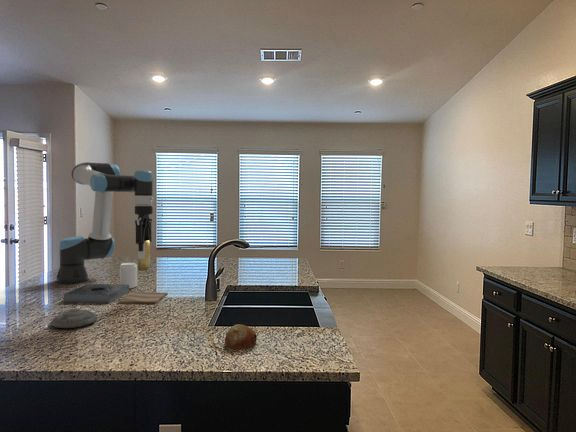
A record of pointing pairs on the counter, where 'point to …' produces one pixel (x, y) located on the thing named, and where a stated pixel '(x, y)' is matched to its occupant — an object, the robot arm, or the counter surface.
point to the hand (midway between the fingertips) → (144, 257)
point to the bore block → (96, 293)
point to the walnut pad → (143, 298)
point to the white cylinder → (128, 274)
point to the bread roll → (240, 337)
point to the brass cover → (145, 263)
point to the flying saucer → (73, 319)
